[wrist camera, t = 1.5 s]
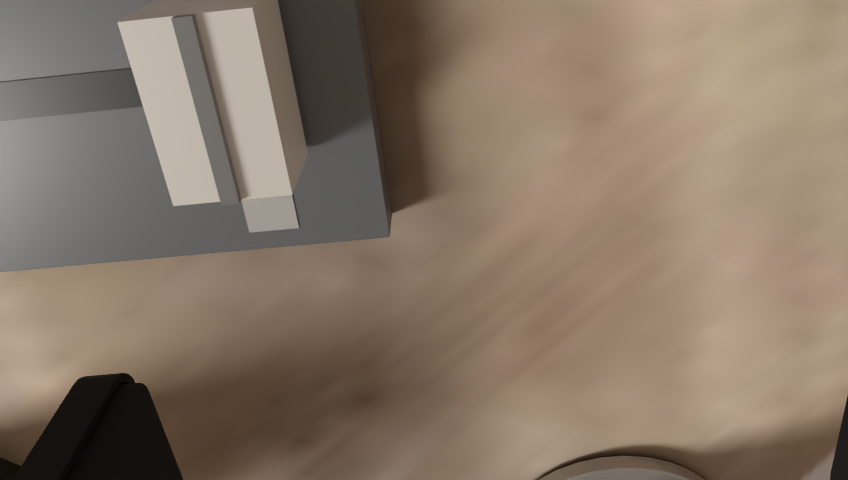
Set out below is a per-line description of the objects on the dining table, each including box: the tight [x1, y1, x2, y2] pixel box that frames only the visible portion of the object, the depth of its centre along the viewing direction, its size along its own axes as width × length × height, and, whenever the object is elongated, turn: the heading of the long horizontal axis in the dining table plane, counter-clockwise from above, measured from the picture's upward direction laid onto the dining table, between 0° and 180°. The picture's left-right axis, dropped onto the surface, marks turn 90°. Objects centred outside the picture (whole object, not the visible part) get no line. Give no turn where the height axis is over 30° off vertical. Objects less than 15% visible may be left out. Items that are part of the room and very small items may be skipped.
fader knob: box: [117, 0, 308, 206], centre depth 24 cm, size 4×6×4 cm, turn 6°
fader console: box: [0, 0, 392, 272], centre depth 27 cm, size 25×14×2 cm, turn 96°
